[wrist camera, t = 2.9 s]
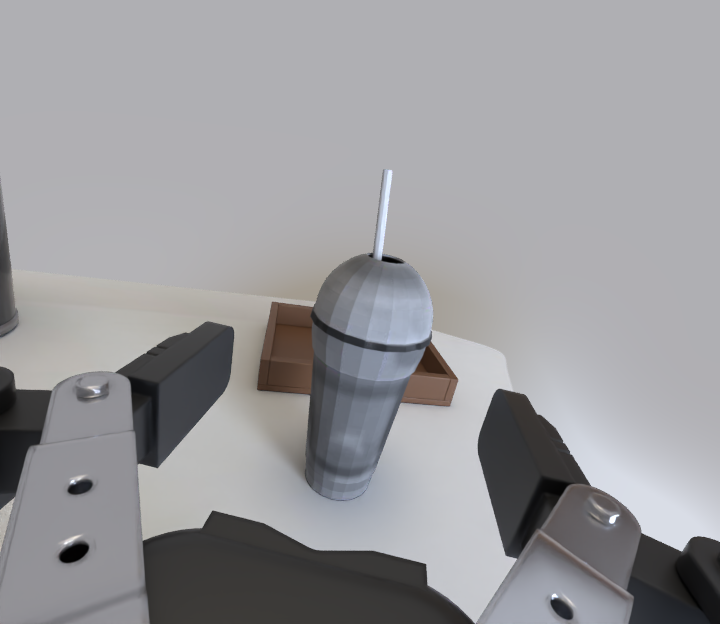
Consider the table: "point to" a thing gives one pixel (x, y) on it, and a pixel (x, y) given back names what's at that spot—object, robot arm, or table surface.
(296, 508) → the table surface
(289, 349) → the tray
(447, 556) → the table surface
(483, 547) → the table surface
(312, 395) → the beverage cup
